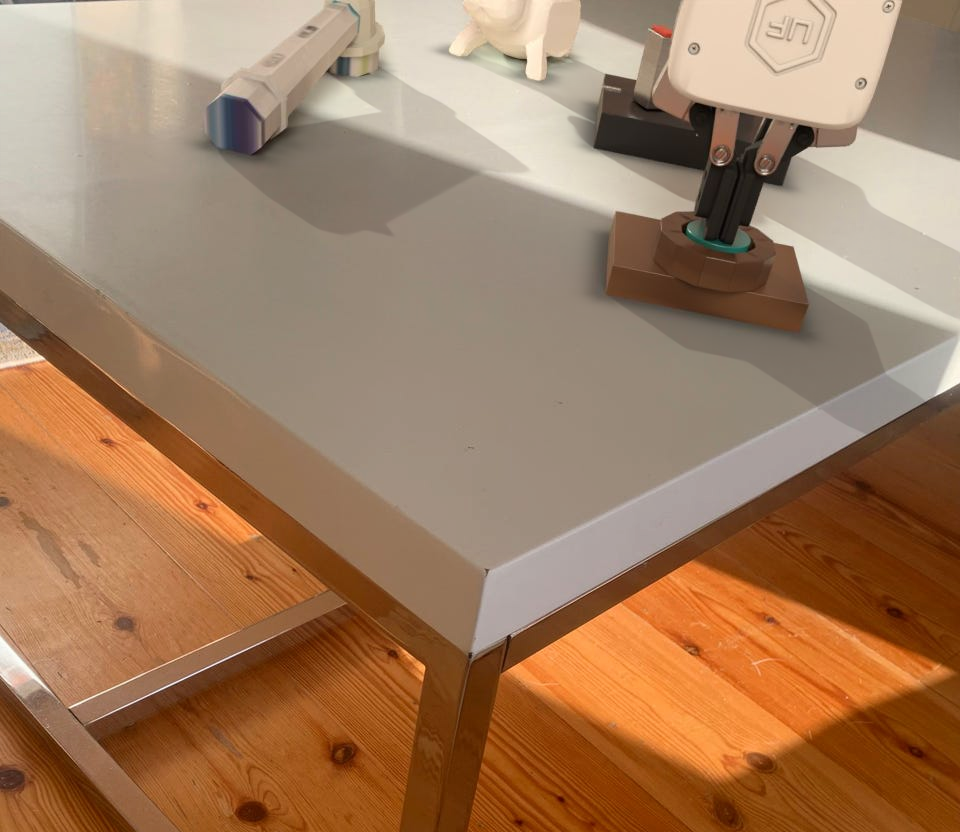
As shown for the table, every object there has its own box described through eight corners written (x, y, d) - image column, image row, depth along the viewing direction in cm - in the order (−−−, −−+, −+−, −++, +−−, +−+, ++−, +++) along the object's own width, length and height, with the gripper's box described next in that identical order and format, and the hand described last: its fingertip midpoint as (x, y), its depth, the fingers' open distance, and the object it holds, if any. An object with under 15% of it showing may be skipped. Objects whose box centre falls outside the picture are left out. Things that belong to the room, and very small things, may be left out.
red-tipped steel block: (740, 102, 87) (761, 30, 84) (756, 112, 86) (778, 40, 83) (631, 99, 83) (649, 24, 80) (646, 109, 82) (665, 33, 78)
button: (739, 255, 65) (748, 226, 64) (743, 281, 62) (753, 252, 61) (678, 243, 65) (686, 214, 64) (679, 269, 62) (688, 239, 61)
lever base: (766, 134, 92) (778, 95, 90) (783, 197, 81) (798, 154, 79) (596, 100, 92) (605, 60, 90) (590, 158, 81) (600, 114, 79)
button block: (782, 279, 69) (803, 218, 67) (797, 345, 62) (822, 279, 60) (607, 244, 69) (622, 181, 67) (603, 306, 62) (620, 238, 60)
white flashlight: (190, 84, 68) (331, -47, 85) (196, 185, 72) (329, 42, 90) (272, 104, 67) (397, -31, 84) (273, 205, 72) (391, 57, 89)
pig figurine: (483, 75, 102) (418, 37, 89) (513, -23, 100) (450, -78, 86) (568, 102, 100) (514, 67, 86) (600, 2, 98) (551, -50, 84)
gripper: (676, -175, 48) (581, 232, 59) (1017, -103, 48) (858, 289, 59) (672, -191, 54) (586, 182, 65) (976, -126, 54) (838, 234, 65)
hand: (716, 232), depth 62 cm, fingers closed
